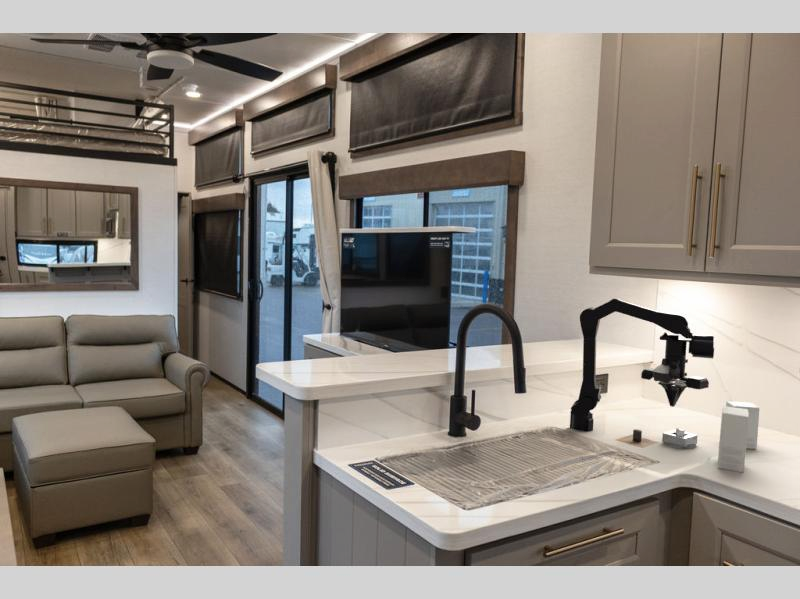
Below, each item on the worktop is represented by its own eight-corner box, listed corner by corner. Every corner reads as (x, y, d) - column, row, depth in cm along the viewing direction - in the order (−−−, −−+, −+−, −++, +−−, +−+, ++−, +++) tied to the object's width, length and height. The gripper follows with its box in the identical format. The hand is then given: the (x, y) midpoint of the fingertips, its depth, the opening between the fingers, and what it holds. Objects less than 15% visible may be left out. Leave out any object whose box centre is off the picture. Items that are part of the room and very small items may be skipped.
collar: (662, 441, 189) (662, 433, 189) (674, 437, 193) (675, 429, 193) (684, 447, 183) (685, 438, 183) (696, 443, 188) (697, 435, 187)
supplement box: (757, 449, 189) (760, 407, 188) (730, 447, 190) (733, 405, 189) (749, 442, 196) (751, 402, 195) (723, 440, 197) (725, 400, 196)
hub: (657, 446, 189) (658, 428, 189) (672, 441, 195) (673, 423, 194) (686, 454, 182) (687, 435, 182) (701, 448, 188) (702, 430, 187)
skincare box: (718, 460, 178) (721, 405, 177) (744, 464, 175) (748, 408, 174) (717, 468, 170) (721, 412, 169) (745, 473, 167) (749, 415, 166)
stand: (614, 442, 191) (615, 429, 191) (631, 438, 197) (632, 424, 197) (642, 450, 184) (642, 436, 184) (658, 445, 190) (659, 431, 189)
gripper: (632, 353, 193) (629, 403, 194) (691, 362, 178) (687, 417, 179) (652, 350, 200) (650, 398, 201) (711, 359, 185) (707, 411, 186)
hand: (672, 406), depth 192 cm, fingers closed
